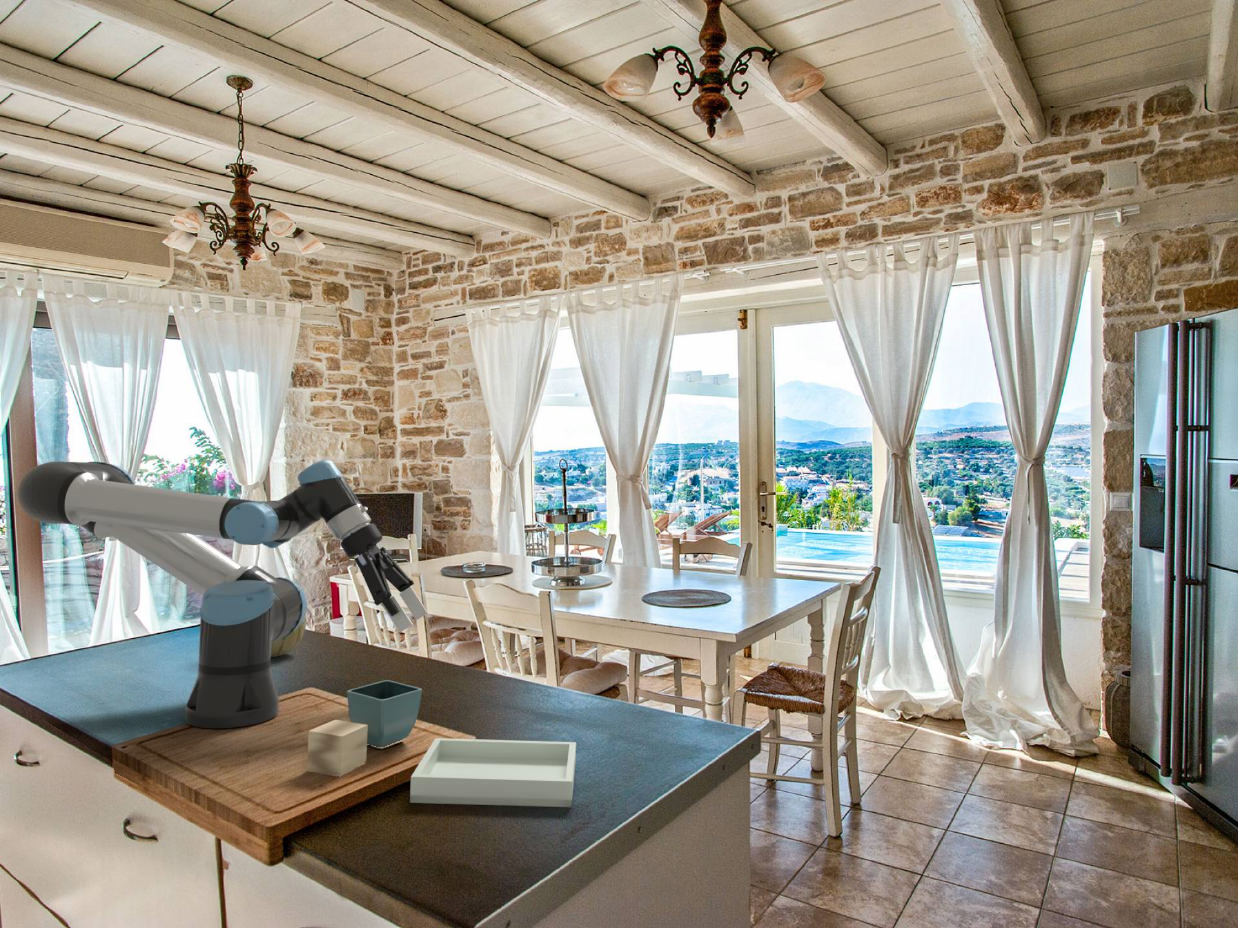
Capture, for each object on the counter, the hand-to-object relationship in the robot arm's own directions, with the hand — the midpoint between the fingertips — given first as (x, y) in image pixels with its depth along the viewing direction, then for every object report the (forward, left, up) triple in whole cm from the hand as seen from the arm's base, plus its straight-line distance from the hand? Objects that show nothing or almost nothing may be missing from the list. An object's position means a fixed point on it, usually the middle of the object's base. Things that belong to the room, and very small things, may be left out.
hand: (414, 622), depth 156 cm
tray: (+22, -40, -15) cm, 48 cm away
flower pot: (+1, -25, -16) cm, 30 cm away
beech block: (-3, -36, -15) cm, 39 cm away
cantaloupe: (-41, +33, -16) cm, 55 cm away
